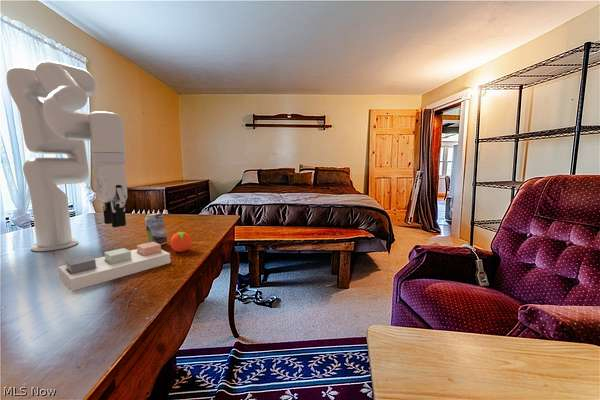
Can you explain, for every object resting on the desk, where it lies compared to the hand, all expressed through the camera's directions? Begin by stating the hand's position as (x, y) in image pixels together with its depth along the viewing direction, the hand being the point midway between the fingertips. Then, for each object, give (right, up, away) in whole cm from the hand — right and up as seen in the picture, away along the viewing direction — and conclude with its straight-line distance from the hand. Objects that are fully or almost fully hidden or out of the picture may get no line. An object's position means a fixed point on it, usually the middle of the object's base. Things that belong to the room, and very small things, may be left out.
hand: (115, 224), depth 77 cm
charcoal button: (-5, -12, -5) cm, 14 cm away
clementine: (+11, -11, +18) cm, 24 cm away
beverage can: (-1, -10, +25) cm, 27 cm away
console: (0, -13, +2) cm, 13 cm away
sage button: (0, -11, +2) cm, 11 cm away
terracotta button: (+5, -10, +8) cm, 14 cm away
